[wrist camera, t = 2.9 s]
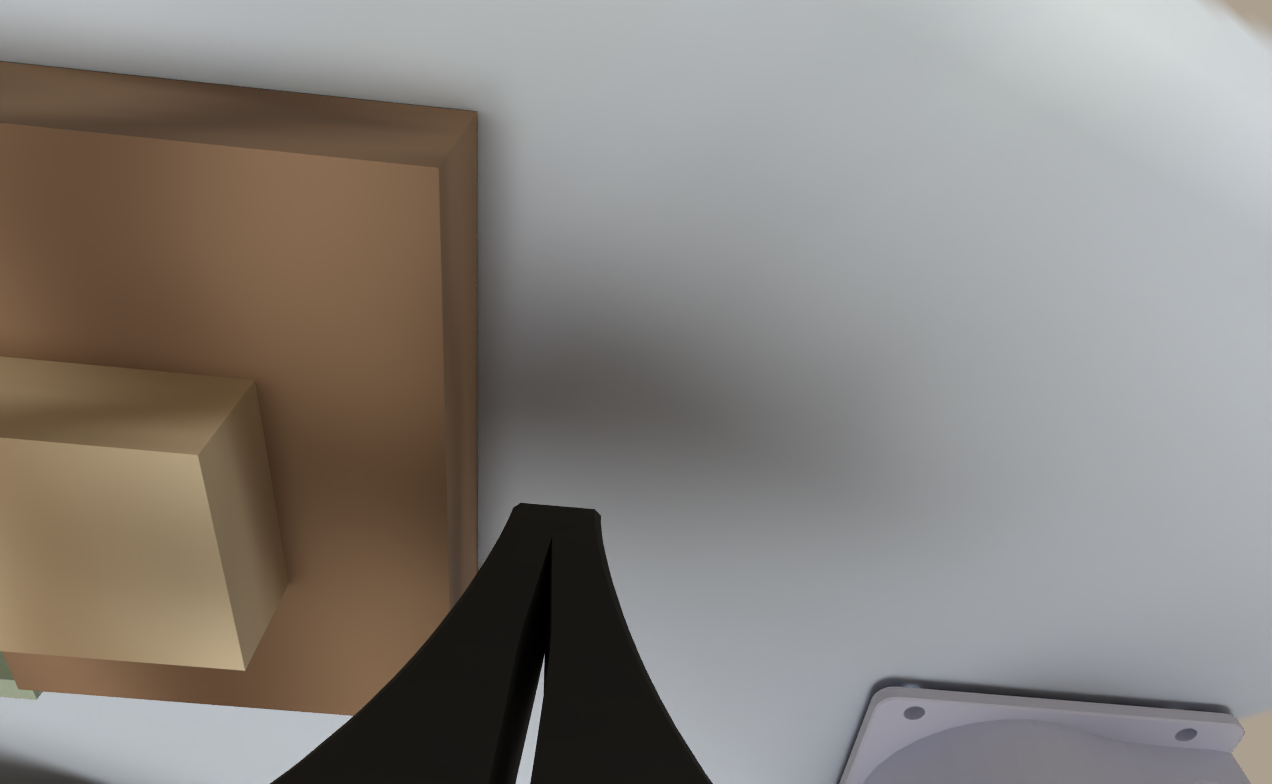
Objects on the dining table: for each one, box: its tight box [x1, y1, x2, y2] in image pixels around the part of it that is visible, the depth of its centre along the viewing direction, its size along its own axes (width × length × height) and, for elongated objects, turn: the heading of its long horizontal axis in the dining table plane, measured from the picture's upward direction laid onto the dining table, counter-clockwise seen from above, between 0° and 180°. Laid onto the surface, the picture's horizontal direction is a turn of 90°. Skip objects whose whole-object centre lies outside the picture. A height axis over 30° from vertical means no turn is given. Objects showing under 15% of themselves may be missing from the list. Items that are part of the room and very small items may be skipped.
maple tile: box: [0, 356, 289, 671], centre depth 14 cm, size 4×4×2 cm
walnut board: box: [0, 61, 478, 716], centre depth 16 cm, size 9×12×3 cm
